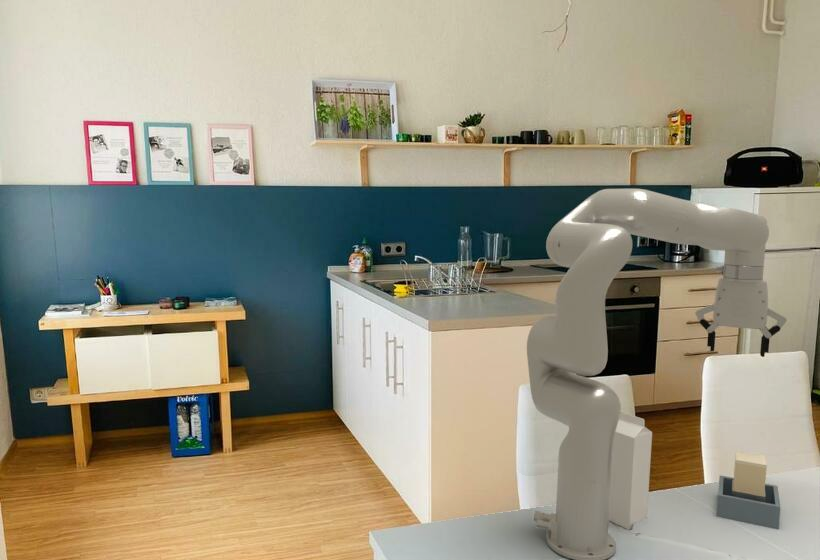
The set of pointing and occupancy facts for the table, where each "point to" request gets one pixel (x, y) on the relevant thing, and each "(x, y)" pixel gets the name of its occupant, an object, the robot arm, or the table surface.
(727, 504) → the tote
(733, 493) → the block
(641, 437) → the milk
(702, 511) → the table surface
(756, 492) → the beige cube
